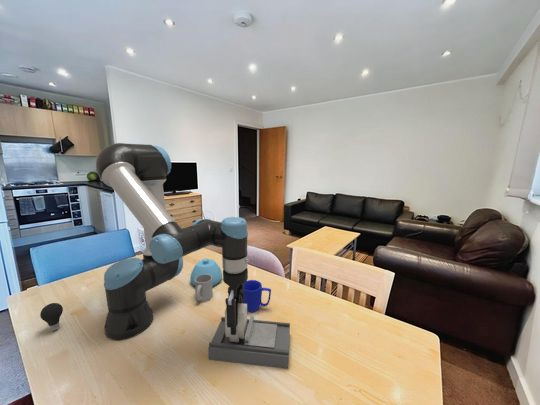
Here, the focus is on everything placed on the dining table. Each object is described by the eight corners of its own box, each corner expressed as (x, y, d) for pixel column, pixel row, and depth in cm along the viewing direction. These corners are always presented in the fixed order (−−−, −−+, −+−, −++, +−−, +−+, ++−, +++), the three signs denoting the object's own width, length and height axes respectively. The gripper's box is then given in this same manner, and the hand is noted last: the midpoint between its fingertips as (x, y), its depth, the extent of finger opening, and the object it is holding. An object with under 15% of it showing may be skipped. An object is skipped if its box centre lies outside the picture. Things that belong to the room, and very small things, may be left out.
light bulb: (41, 338, 75) (35, 311, 73) (47, 327, 80) (42, 302, 78) (63, 332, 78) (58, 306, 76) (68, 322, 83) (63, 297, 81)
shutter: (244, 346, 68) (244, 336, 67) (250, 324, 77) (250, 315, 76) (274, 350, 67) (274, 339, 66) (277, 326, 76) (277, 317, 75)
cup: (215, 293, 102) (214, 274, 100) (205, 307, 92) (205, 287, 90) (200, 291, 103) (199, 273, 101) (189, 305, 93) (188, 285, 91)
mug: (268, 316, 87) (268, 293, 85) (238, 312, 89) (238, 289, 87) (272, 303, 95) (272, 282, 93) (245, 300, 97) (244, 278, 95)
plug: (225, 341, 71) (224, 308, 69) (229, 330, 76) (229, 299, 73) (244, 343, 71) (243, 310, 68) (247, 332, 75) (247, 301, 73)
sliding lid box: (208, 359, 68) (208, 345, 67) (222, 328, 81) (222, 315, 80) (288, 368, 65) (288, 354, 64) (289, 334, 78) (289, 322, 77)
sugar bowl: (228, 279, 114) (227, 257, 112) (205, 293, 101) (203, 269, 99) (208, 271, 122) (207, 250, 120) (184, 283, 110) (182, 261, 107)
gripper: (240, 284, 60) (241, 359, 64) (252, 256, 77) (253, 317, 81) (213, 282, 60) (216, 356, 65) (231, 255, 78) (232, 315, 82)
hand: (236, 334), depth 73 cm, fingers closed on plug, 4 cm apart
